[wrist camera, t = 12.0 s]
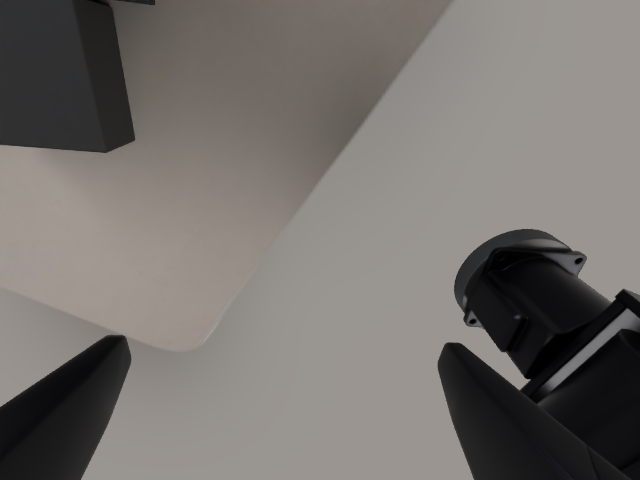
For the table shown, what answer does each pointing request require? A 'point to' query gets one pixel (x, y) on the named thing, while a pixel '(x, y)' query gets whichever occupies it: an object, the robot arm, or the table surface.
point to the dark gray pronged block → (141, 1)
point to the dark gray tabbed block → (62, 77)
